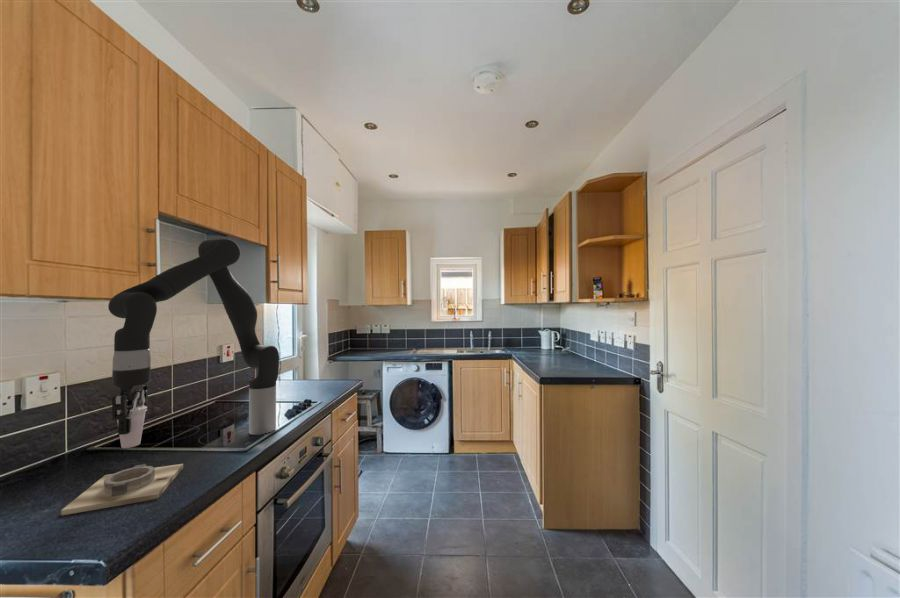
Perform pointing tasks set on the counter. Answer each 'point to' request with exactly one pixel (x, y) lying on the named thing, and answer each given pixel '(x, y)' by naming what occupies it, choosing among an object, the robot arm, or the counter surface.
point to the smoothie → (134, 428)
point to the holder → (125, 488)
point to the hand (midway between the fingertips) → (131, 429)
